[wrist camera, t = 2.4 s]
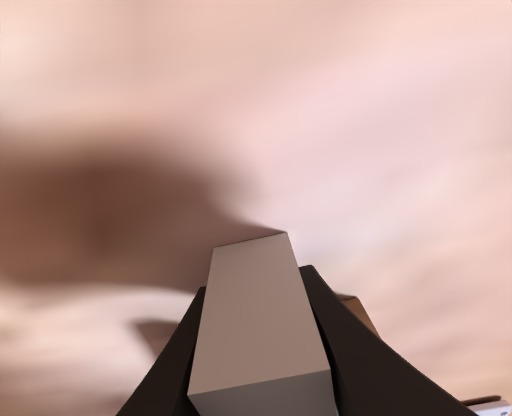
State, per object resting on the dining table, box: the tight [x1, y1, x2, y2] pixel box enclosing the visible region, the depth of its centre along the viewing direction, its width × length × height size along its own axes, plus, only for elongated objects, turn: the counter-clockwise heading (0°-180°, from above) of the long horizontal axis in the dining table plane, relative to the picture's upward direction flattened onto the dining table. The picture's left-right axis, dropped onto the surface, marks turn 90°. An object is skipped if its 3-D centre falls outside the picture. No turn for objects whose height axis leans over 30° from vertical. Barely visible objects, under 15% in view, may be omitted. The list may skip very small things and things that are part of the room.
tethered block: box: [187, 232, 339, 416], centre depth 10 cm, size 12×4×6 cm, turn 12°
